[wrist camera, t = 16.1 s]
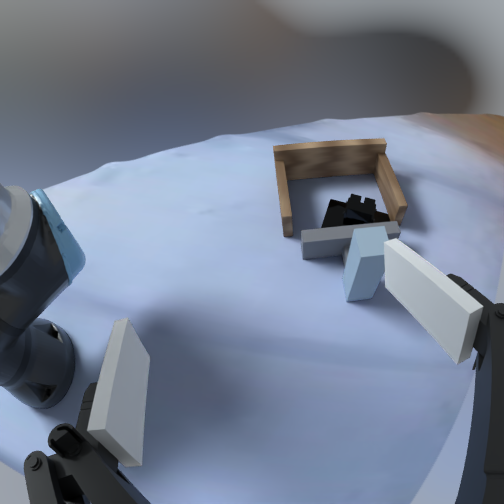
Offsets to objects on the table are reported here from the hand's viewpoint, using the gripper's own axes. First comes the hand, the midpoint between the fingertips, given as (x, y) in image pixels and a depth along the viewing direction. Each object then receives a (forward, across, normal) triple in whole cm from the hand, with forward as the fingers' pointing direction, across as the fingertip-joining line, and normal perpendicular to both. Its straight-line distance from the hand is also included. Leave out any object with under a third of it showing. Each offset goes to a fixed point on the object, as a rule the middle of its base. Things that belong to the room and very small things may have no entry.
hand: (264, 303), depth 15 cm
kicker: (+24, +15, -16) cm, 32 cm away
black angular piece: (+31, +19, -13) cm, 38 cm away
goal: (+35, +18, -9) cm, 40 cm away
